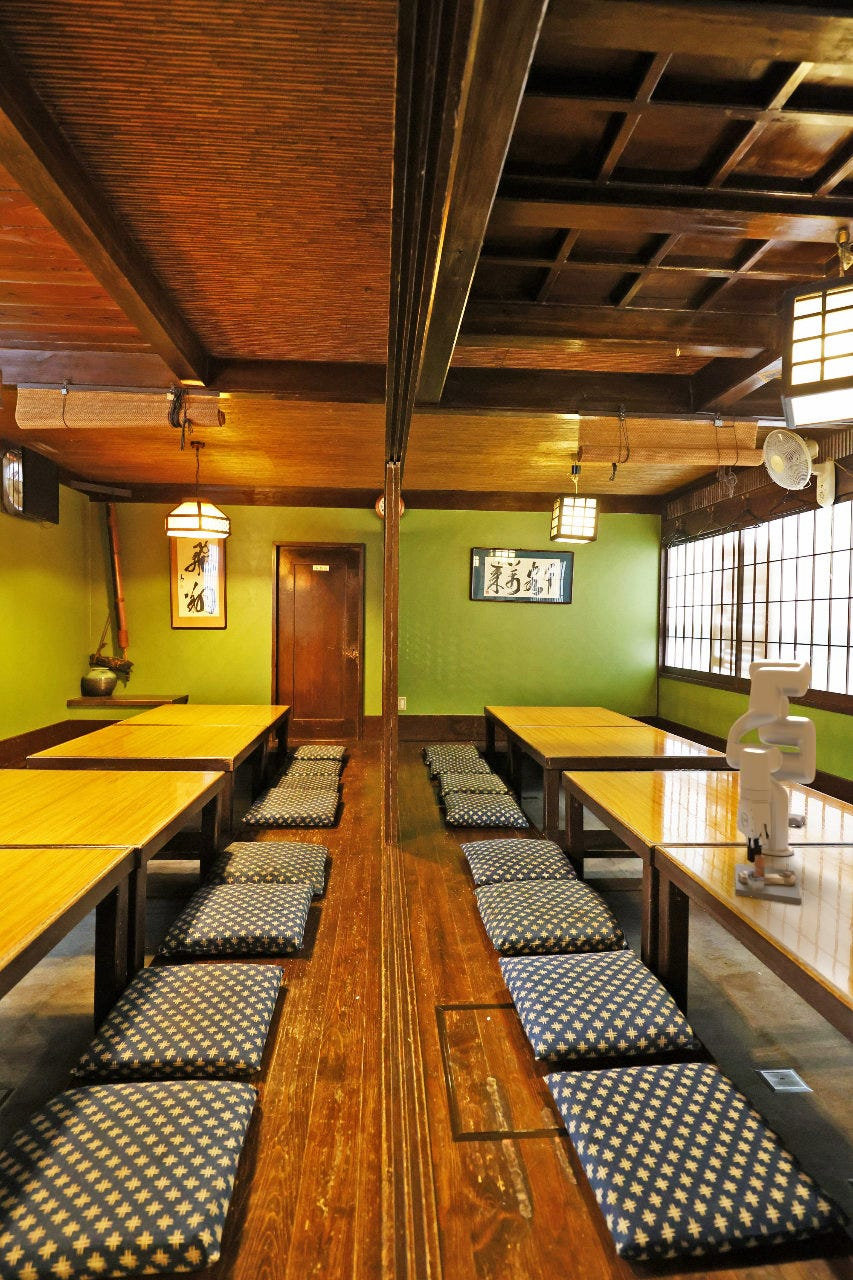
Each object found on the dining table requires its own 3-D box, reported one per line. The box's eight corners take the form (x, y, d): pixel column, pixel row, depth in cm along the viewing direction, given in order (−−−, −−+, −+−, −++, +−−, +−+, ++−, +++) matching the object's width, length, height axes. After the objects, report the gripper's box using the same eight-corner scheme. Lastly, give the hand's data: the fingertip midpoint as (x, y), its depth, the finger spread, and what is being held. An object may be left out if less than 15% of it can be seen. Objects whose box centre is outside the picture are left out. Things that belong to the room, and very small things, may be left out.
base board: (735, 868, 196) (735, 863, 196) (793, 876, 190) (793, 870, 190) (735, 894, 176) (735, 889, 176) (801, 904, 170) (801, 898, 170)
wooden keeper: (753, 883, 180) (753, 871, 180) (763, 890, 175) (763, 877, 175) (742, 883, 180) (742, 871, 180) (752, 890, 175) (752, 878, 175)
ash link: (791, 880, 182) (791, 854, 182) (798, 885, 178) (798, 859, 178) (737, 877, 183) (737, 852, 183) (742, 883, 179) (743, 857, 179)
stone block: (772, 821, 253) (763, 821, 246) (774, 808, 254) (765, 808, 247) (807, 829, 245) (799, 829, 238) (809, 816, 245) (800, 815, 238)
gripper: (728, 787, 191) (728, 852, 191) (754, 801, 176) (754, 871, 177) (754, 787, 191) (754, 852, 192) (783, 801, 176) (782, 871, 177)
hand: (754, 861), depth 184 cm, fingers closed
